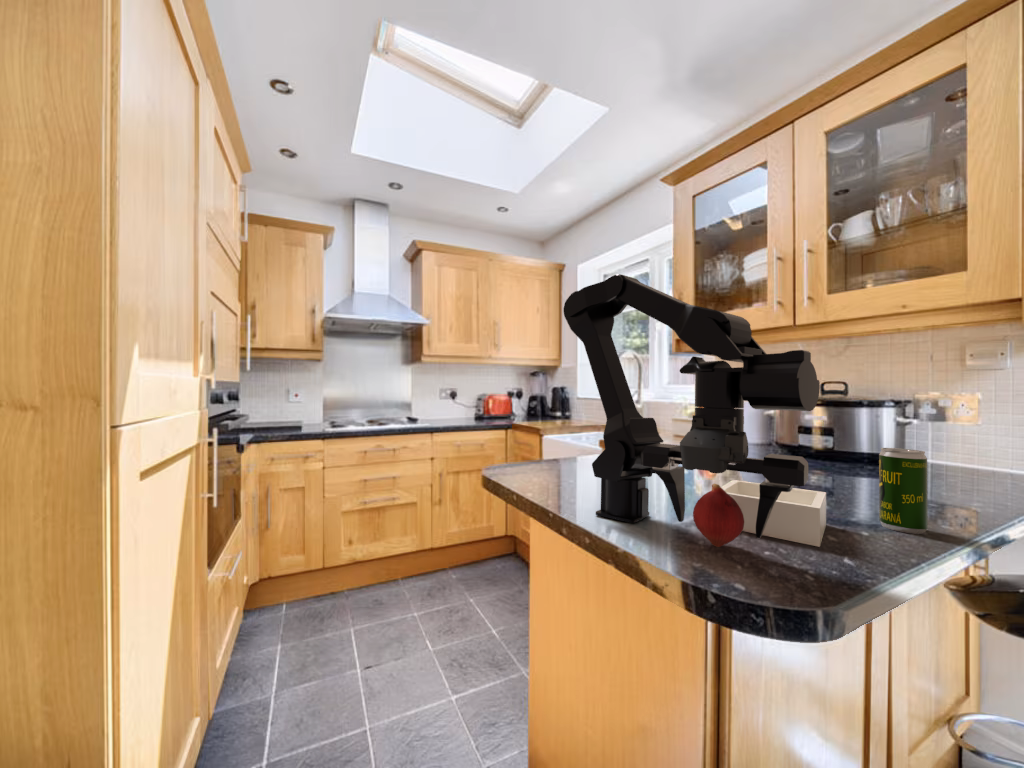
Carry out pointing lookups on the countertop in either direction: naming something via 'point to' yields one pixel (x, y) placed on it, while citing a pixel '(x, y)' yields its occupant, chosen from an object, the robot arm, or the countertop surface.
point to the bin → (783, 512)
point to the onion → (718, 516)
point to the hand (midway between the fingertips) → (717, 528)
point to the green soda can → (903, 490)
